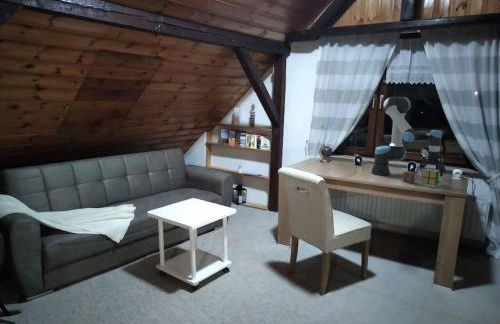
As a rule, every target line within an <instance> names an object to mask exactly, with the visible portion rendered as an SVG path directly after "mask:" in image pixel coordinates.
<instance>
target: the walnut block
mask: <svg viewBox="0 0 500 324" xmlns="http://www.w3.org/2000/svg"><path fill="white" fill-rule="evenodd" d="M415 178H416V172H414V171H409V170H406V171H403V173H402V183H406V184H409V185H410V184H413V183H415Z"/></svg>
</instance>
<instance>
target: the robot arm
mask: <svg viewBox="0 0 500 324" xmlns="http://www.w3.org/2000/svg"><path fill="white" fill-rule="evenodd" d="M411 104H412V103H411V101H410V99H409V98H408V97H406V96H389V97H387V98H386V99H385V100H384V101H383V103H382V108H383V111H384V113H385V114H386V115H388V116H389V117H390V118H391V120H392V130H391V131H392V132H391V142H390V143H389V144H388V145H380V146H376V147H375V150H374V163H373V166H372V168H371V174H373V175H376V176H389V175H391V169H390V166H389V163H390V162H399V161H403V160H404V159H405V158H406V156H407V150H406V147H405V146H404V145H403V141H404V142H407V143H412V142H413V143H414V142H415V143H416V142H427V143H429V144H428V152H427V153H428V154H427V155H424V156H423V159H422V160H421V162H420V163H419V165H418V167H419V168H420V173H421V176H420V177H421V178H422V172H423V170H425V169H426V168H425V167H427V166H428V164H433V165H434V164H435V166H436V167H437V170H439V171H440V172H439V177H438V181H439V182H440V181H441V182H442V177H443V176H444V173H445V172H447V169H446V166H445V164H444V158H440V151H441V144H442V137H443V136H442V135H443V132H442V130H438V129H432V130H430V131H425V130H424V131H423V130H420V131H415V130H414V129H413V128H412V126H411V125H410V124H409V122H407V119H405V116H406V115H407V114H408V113H407V112H408V111H409V110H410V109H411V106H412V105H411Z"/></svg>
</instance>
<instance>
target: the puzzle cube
mask: <svg viewBox="0 0 500 324" xmlns="http://www.w3.org/2000/svg"><path fill="white" fill-rule="evenodd" d="M439 172H440V171H439V169H432V168H425V170H423V172H421V173H422V177H421V180H420V182H421V183H424V184H430V185H436V184H438V183H440V181H438V177H439Z"/></svg>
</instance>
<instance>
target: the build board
mask: <svg viewBox="0 0 500 324" xmlns="http://www.w3.org/2000/svg"><path fill="white" fill-rule="evenodd" d="M416 184H417V185H420V186H424V187H427V186H428V188H431V187H432V189H436V188H439V187H444V186H445V185H446V184H445V183H440V182H439V183H438V184H436V185H430V184H424V183H421V181H417V182H416Z"/></svg>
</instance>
